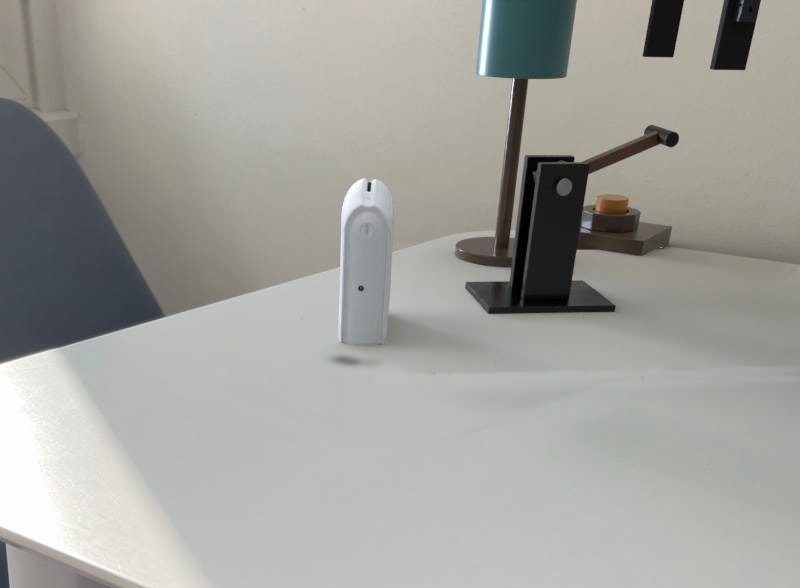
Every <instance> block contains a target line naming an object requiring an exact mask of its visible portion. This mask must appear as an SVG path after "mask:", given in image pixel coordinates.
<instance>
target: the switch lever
mask: <svg viewBox="0 0 800 588" xmlns="http://www.w3.org/2000/svg"><path fill="white" fill-rule="evenodd" d="M679 141H680V135H679V133H677V132H676V131H673V130H670V129H667V128H663V127H661V126H657V125H655V124H650V125H647V126H646V127H645V129H644V132H643V135H642V136H639V137H636V138H634V139H632V140H630V141H627V142H625V143H622V144H620V145H618V146H615V147H613V148H611V149H608V150H606V151H604V152H601V153H599V154H597V155H594V156H592V157H590V158H587V159H584V160H582V161H581V162H586V163H589V164H590V167H589V173H588V175H591V174H593V173H595V172H598V171H600V170H602V169H604V168H607V167H609V166H612V165H614V164H616V163H619V162H622V161H624V160H626V159H629V158H631V157H633V156H635V155H637V154H640V153H642V152H645V151H647V150H650V149H652V148H654V147H658V146H659V145H662V146H665V147H667V148H674V147H676V146H677V145H678V143H679ZM558 162H565V161H563V160H560V161H558ZM536 175H537V170H536V171H534V172H533V177H534V181H535V183H536Z"/></svg>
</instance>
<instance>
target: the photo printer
mask: <svg viewBox="0 0 800 588" xmlns="http://www.w3.org/2000/svg"><path fill="white" fill-rule="evenodd" d="M340 217H341V218H340V219H341V220H340V261H339V264H340V265H339V295H338V297H339V299H338V320H337V325H338V327H337V328H338V329H337V330H338V331H337V332H338V340H339V342H340V344H348V345H352V346H362V347H364V346H365V347H366V346H367V347H369V346H376V345H384V343H385V342H386V340H387V333H388V325H389V313H390V299H391V287H392V265H393V264H392V263H393V245H394V244H393V243H394V242H393V241H394V225H395V221H394V220H395V205H394V198H393V195H392V193H391V191H390V189H389V188H388V187H387V185H386V184H384V182H383V181H381V180H380V179H378V178H374V179H372V180H371V181H370V180H368V179H367V178H360V179H358V180H357V181H356V182H355V183H353V184H352V185H351V186H350V188H349V189H348V190H347V191H346V194H345V196H344V199H343V203H342V207H341V216H340Z"/></svg>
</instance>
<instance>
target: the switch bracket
mask: <svg viewBox="0 0 800 588" xmlns="http://www.w3.org/2000/svg"><path fill="white" fill-rule="evenodd" d="M560 160H563V161H565V162H558V161H560ZM589 167H590V164H589V163H586V162H582V161H575V156H573V155H571V154H570V155H569V154H525V155H524V159H523V167H522V175H521V184H520V192H519V200H518V209H517V216H516V217H517V218H516V224H515V227H516V228H515V233H514V238H515V241H514V249H513V257H512V266H511V267H510V274H509V280H508V281H507V280H505V281H504V280H501V281H497V280H496V281H494V280H493V281H465V286H464V288H465V290H466V291H467V292H468V293H469V294H470V295H471V296H472V297H473V299H474V300H475V301H476V302H477V303H478V305H480V306H481V307H482V308H483V310H484V311H485V312H486V313H487V314H489V315H499V314H500V315H504V314H507V315H508V314H510V315H511V314H559V313H560V314H563V313H565V314H566V313H567V314H569V313H571V314H573V313H615V312H616V304H615V303H614V302H612V301H611V300H610V299H608V298H606V297H605V296H604V295H603V294H601V293H600V292H599V291H598V290H596V289H595V288H594V287H592V286H591V285H590V284H589V283H587V282H585V280H583V279H581V280H579V279H577V280H575V279H573V277H574V271H575V270H574V269H575V263H576V256H577V251H578V250H577V244H578V238H579V231H580V225H581V218H582V212H583V207H584V205H585V199H586V191H587V185H588V178H589V174H588V173H589ZM536 170H537V175H536V183H535V181H534V177H533V172H534V171H536Z"/></svg>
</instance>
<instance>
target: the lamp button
mask: <svg viewBox="0 0 800 588" xmlns="http://www.w3.org/2000/svg"><path fill="white" fill-rule="evenodd" d="M629 202H630V197H628V196H625V195H620V194H609V193H608V194H607V193H606V194H598V195H597V196H596V200H595V205H596V206H595V211H597V212H602V213H613V214H621V213H627V208H628V207H629Z"/></svg>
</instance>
